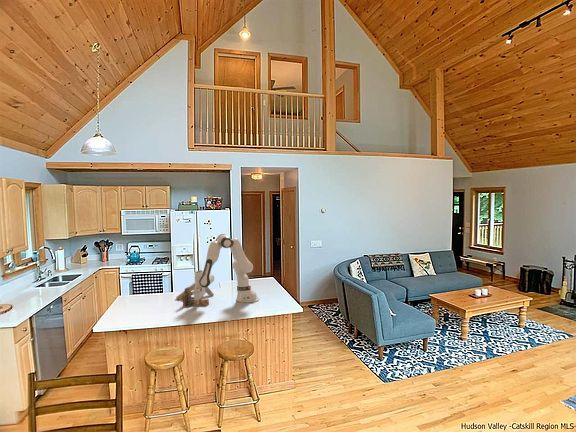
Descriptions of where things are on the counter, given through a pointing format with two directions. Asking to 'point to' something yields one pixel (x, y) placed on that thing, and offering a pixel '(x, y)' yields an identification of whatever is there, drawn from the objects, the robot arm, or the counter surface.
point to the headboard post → (187, 297)
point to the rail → (200, 301)
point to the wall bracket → (193, 292)
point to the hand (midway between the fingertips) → (200, 301)
